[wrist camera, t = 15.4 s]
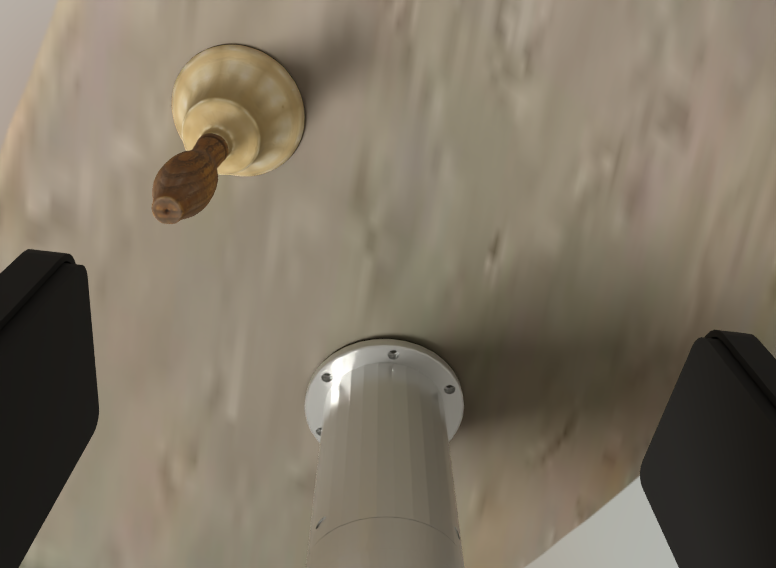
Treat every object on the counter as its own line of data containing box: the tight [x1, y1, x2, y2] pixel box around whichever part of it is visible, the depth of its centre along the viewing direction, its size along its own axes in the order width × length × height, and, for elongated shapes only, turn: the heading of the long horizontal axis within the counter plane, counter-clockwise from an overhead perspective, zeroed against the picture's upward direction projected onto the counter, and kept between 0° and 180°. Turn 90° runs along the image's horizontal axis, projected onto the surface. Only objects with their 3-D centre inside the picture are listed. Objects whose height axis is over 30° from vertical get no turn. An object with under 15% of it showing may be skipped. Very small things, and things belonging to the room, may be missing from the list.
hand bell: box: [152, 45, 305, 224], centre depth 35 cm, size 8×8×16 cm
